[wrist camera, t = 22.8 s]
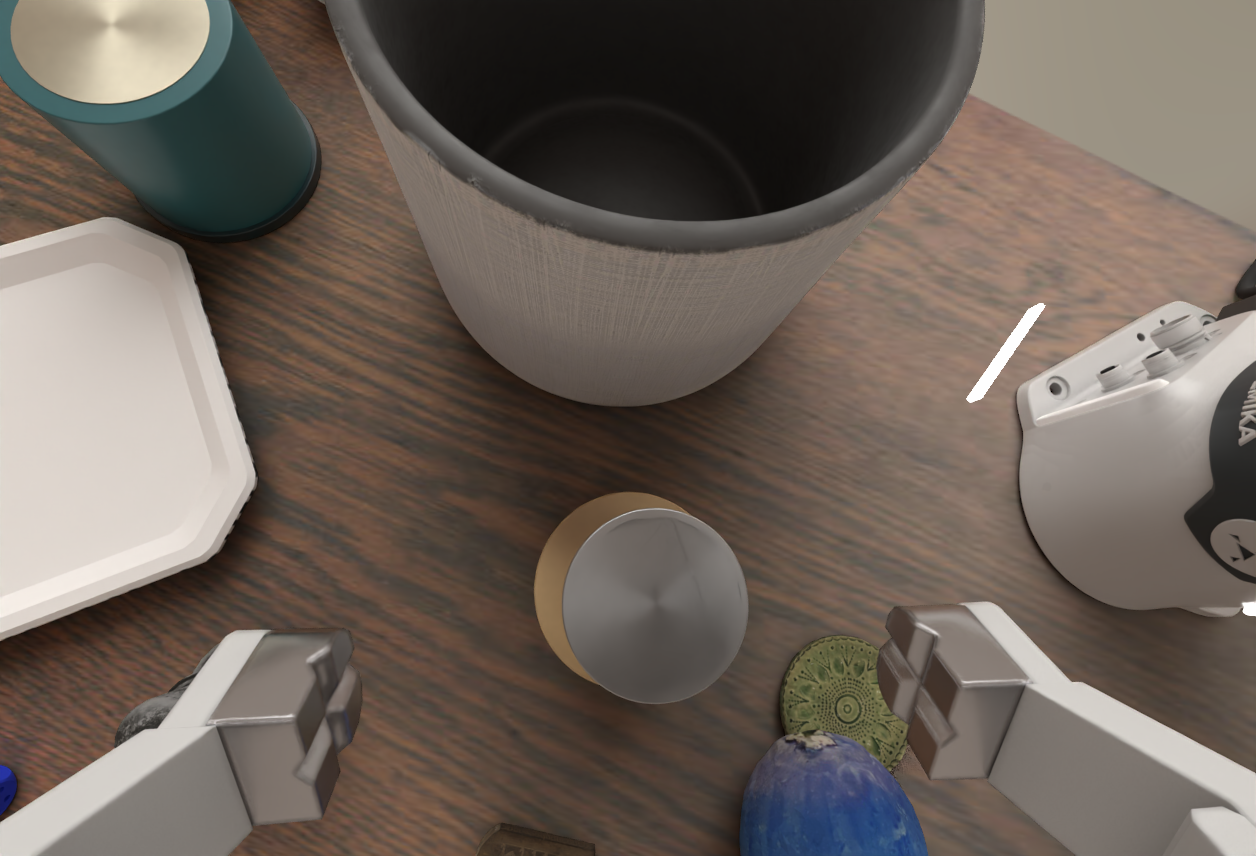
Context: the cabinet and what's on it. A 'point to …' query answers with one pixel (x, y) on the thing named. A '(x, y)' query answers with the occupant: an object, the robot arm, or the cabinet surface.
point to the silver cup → (655, 606)
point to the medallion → (841, 697)
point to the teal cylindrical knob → (167, 107)
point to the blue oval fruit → (826, 802)
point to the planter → (649, 164)
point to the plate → (108, 422)
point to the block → (530, 843)
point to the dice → (6, 787)
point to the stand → (562, 553)
